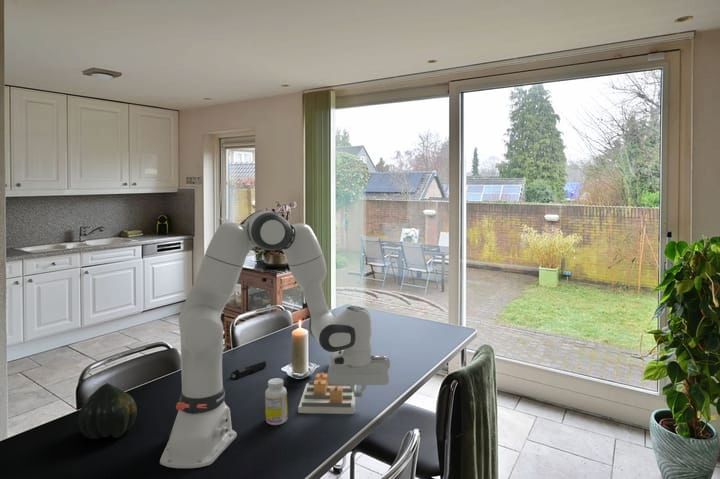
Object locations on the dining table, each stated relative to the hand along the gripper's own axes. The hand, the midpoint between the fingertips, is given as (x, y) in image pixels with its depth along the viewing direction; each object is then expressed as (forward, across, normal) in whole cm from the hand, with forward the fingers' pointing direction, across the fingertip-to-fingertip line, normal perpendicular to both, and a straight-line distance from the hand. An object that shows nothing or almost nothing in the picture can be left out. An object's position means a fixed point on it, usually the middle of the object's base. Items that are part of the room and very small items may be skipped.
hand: (358, 396), depth 149 cm
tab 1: (+2, +13, -11) cm, 17 cm away
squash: (+4, +73, +18) cm, 75 cm away
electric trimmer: (+4, +44, -28) cm, 52 cm away
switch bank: (+4, +10, -5) cm, 12 cm away
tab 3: (+2, +7, 0) cm, 7 cm away
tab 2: (+2, +13, -5) cm, 14 cm away
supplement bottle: (+4, +25, +9) cm, 27 cm away
